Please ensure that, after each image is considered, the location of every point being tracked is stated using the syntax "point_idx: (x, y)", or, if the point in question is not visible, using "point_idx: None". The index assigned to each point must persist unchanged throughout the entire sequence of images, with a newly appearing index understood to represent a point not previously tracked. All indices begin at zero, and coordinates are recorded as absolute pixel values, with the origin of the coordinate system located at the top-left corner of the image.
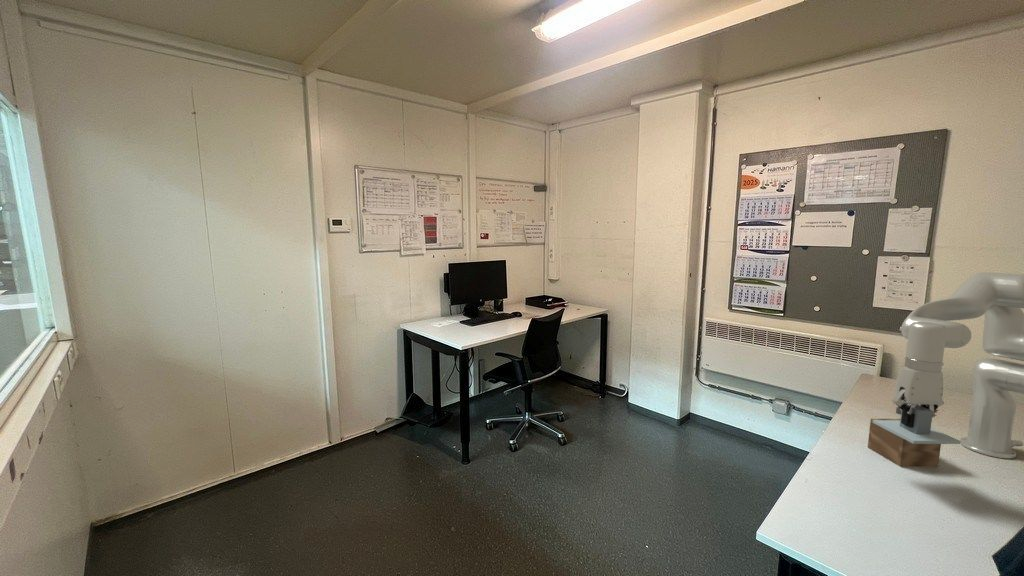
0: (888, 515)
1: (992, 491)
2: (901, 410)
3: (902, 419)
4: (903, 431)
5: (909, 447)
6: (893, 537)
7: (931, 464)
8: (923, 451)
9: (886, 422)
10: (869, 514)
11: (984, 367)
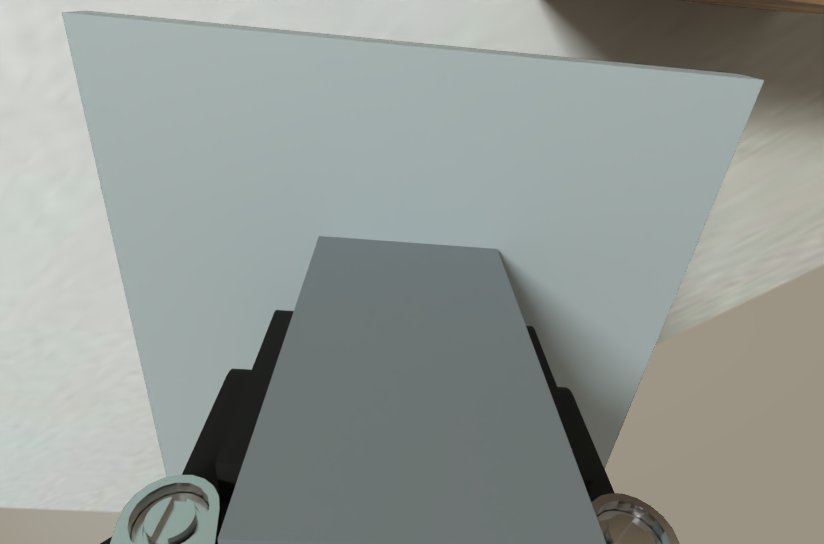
0: (90, 350)
1: (727, 252)
2: (157, 494)
3: (221, 397)
4: (234, 354)
5: None
6: (30, 431)
7: (747, 6)
8: (738, 2)
9: (231, 115)
10: (15, 341)
11: None
